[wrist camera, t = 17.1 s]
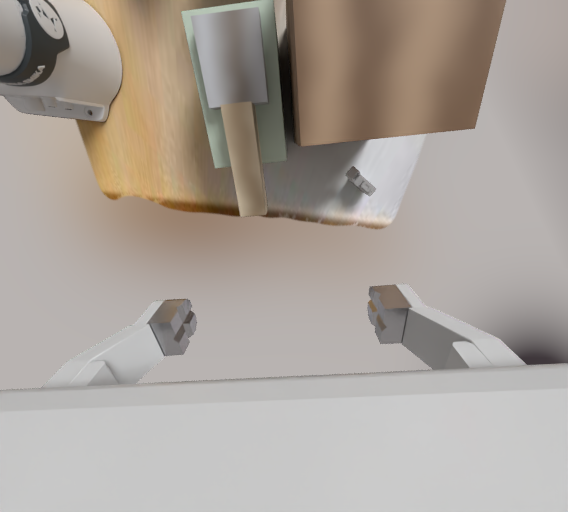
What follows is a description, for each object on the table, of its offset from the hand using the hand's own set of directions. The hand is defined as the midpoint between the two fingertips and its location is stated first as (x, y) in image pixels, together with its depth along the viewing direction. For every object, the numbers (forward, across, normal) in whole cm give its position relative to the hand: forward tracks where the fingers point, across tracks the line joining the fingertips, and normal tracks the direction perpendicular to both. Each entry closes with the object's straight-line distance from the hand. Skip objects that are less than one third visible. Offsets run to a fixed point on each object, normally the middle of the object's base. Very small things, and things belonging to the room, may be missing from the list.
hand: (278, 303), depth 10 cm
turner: (+26, +5, -8) cm, 27 cm away
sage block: (+39, +4, -12) cm, 41 cm away
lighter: (+39, -13, +1) cm, 41 cm away
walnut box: (+39, -9, -14) cm, 42 cm away
